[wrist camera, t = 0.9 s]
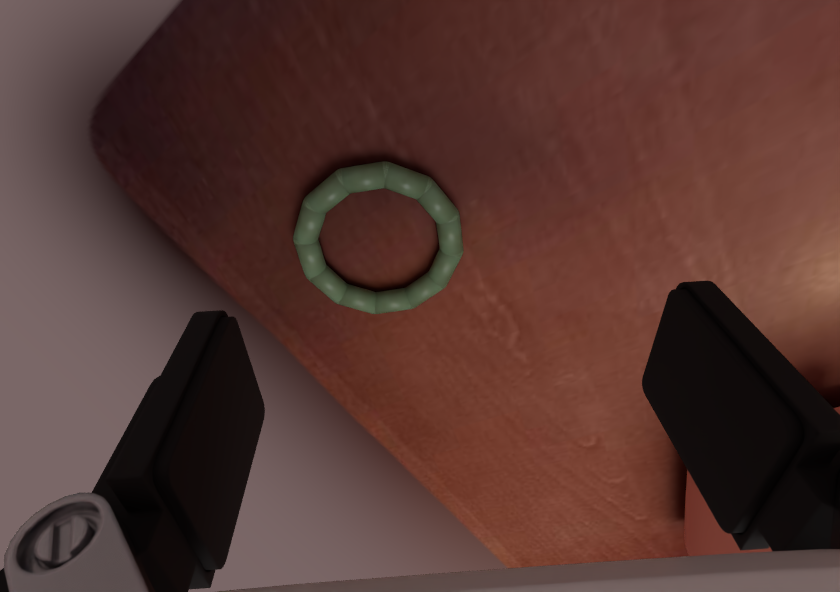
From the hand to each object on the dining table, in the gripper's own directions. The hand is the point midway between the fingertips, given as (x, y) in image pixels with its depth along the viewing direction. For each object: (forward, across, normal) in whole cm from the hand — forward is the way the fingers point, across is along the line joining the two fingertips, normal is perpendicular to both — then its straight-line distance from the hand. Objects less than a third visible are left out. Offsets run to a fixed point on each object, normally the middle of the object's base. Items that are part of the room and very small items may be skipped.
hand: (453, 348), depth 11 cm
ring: (+14, +2, +5) cm, 15 cm away
